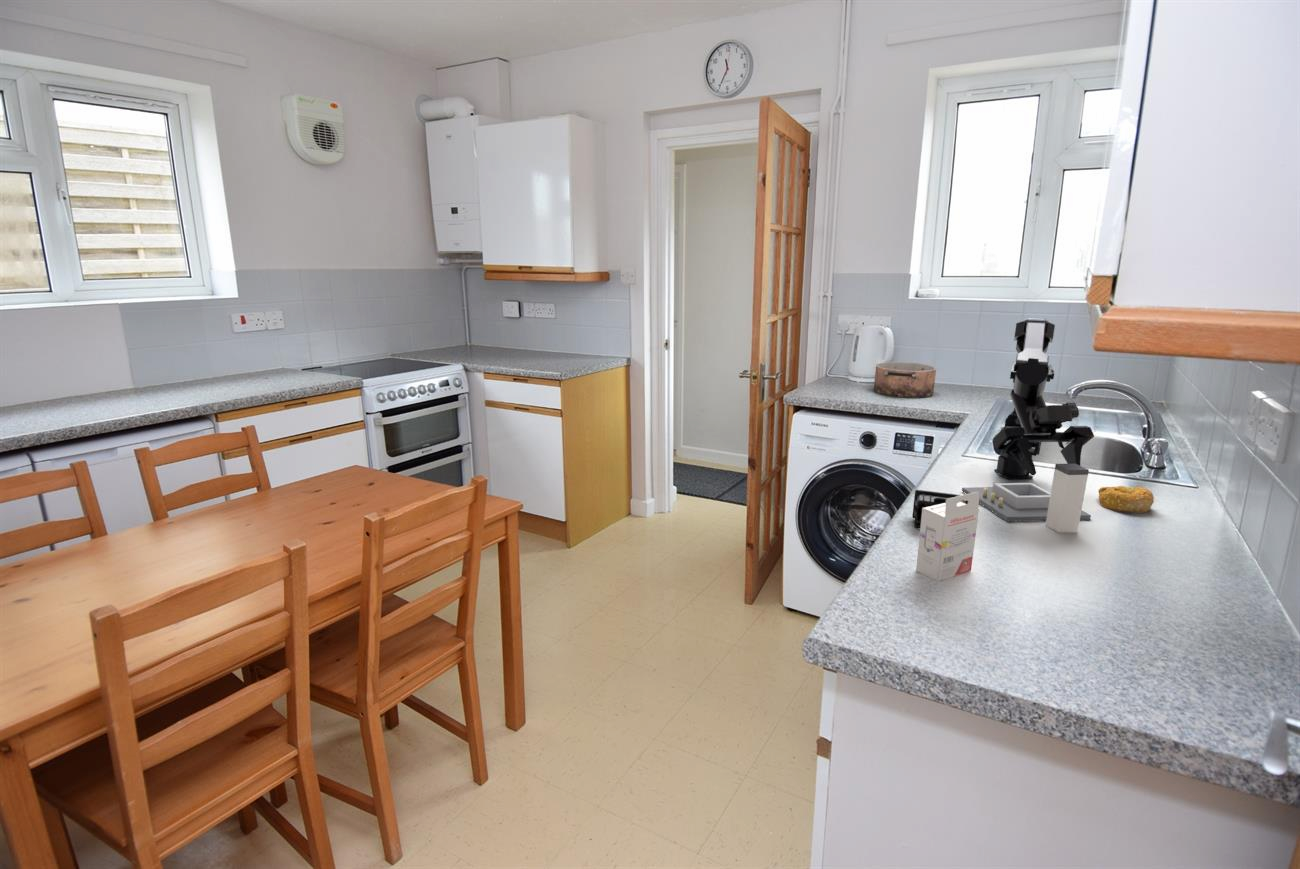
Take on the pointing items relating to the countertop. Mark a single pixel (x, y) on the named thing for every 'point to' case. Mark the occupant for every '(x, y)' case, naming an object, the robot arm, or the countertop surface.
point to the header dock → (1016, 501)
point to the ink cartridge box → (948, 537)
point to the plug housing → (1066, 497)
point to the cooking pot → (904, 380)
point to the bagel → (1126, 499)
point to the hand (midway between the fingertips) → (1056, 474)
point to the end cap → (928, 502)
